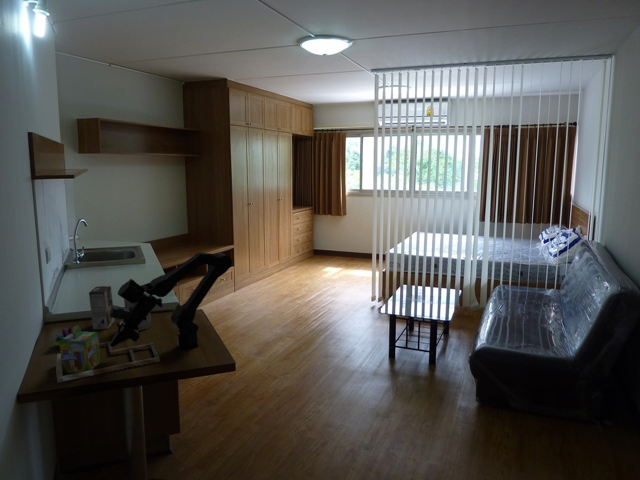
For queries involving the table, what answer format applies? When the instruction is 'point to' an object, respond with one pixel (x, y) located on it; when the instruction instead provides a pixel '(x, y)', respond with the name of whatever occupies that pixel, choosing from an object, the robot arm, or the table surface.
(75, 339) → the chalk box
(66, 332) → the rainbow disc cluster
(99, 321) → the coffee box
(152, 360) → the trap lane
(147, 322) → the pillar candle
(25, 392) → the table surface
